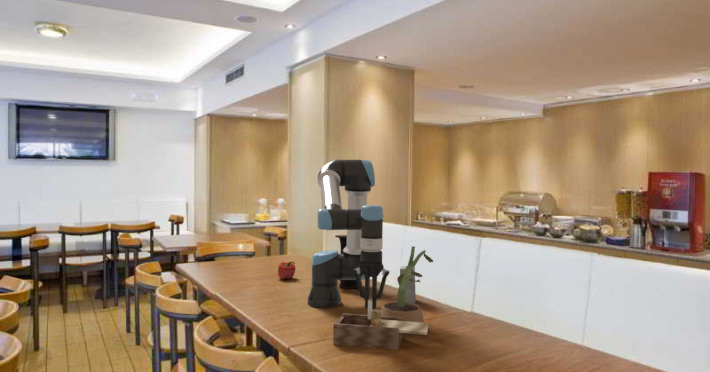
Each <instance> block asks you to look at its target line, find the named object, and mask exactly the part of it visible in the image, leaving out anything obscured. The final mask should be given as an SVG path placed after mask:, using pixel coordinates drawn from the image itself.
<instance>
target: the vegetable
mask: <svg viewBox="0 0 710 372" xmlns="http://www.w3.org/2000/svg"><path fill="white" fill-rule="evenodd" d="M295 264H296V263H295V262H294V261H287V262H285V261H284V262H280V263H278V266H277V273H278V274H277V275H278V277H279V279H281V280H286V279H287V280H291V279H293V278H294V276H295V272H296V265H295Z"/></svg>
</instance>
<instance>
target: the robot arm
mask: <svg viewBox="0 0 710 372" xmlns="http://www.w3.org/2000/svg"><path fill="white" fill-rule="evenodd" d="M375 175H376V174H375V169H374V165H373V163H372V161H370V160H367V159H334V160H330V161H329V162H327V163H326V164H324V165H323V166H322V167H321V168H320V170H319V172H318V174H317V184H318V186H319V188H320V198H321V208H320V209H318V211H317V228H318V229H319V230H321V231H322V230H325V231H340V230H341V231H345V230H346V235H347V246H346V247H345V248H344V249H343V254H341V253H339V252H338V250H334V249H329V250H322V251H318V252H316V253H314V254H313V255H312V257H311V286H310V287H311V288H310V291H309V293H308V295H307V305H308V306H310V307H314V308H334V307H338V306H340V305H341V304H342V296H341V293H340V290H339V289H340V288H339V285H338V284H339V283H338V281H340V280H356V282H357V286H358V288H357V289H358V294H359V298H362V299H363V300H364V309H367V315H368V319H371V313H372V312H373V310H374V309H375V310H377V309H376V308H377V300H379V299H382V296H383V293H384V289H385V285H386V281H387V278H388V276H389V275H390V272H391V271H390V270H387V268H385V267H384V264H383V251H382V250H383V242H384V241H383V239H384V238H383V231H384V230H383V229H384V228H383V227H384V226H383V225H384V224H383V223H384V208H383V207H382V206H381V205H373V204H368V194H369V193H371V190H372V188H373V187H375V185H376V176H375ZM340 187H344V191H345V193H347V208H345V209H344V208H343V206H342V198H341V191H340ZM380 274H381V275H382V278H381V281H380V284H379V285H380V286H379V289H378V277H379V275H380ZM370 278H371V280H370ZM362 280H364V286H363V282H362ZM370 281H372V282H371V285H372V287H370V286H371V285H370ZM370 289H371V291H372V293H371V298H370Z"/></svg>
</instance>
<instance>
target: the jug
mask: <svg viewBox="0 0 710 372" xmlns="http://www.w3.org/2000/svg"><path fill="white" fill-rule="evenodd" d="M335 238H338V239H339V243H340V244H339V245H340V254H343V249H344V248H345V247H346V246H347V234H339V235H337V234H336V235H335ZM339 282H340V283H338V284H339V285H338V288H343V289H350V290H351V289H358V286H357V282H356V280H339Z"/></svg>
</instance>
